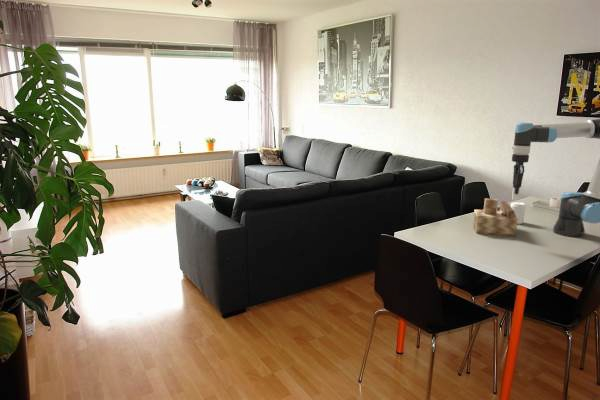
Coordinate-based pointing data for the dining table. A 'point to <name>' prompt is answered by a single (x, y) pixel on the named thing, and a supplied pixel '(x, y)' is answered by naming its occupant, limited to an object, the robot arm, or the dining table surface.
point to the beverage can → (519, 211)
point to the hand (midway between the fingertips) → (514, 199)
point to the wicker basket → (495, 226)
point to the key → (507, 209)
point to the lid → (492, 211)
